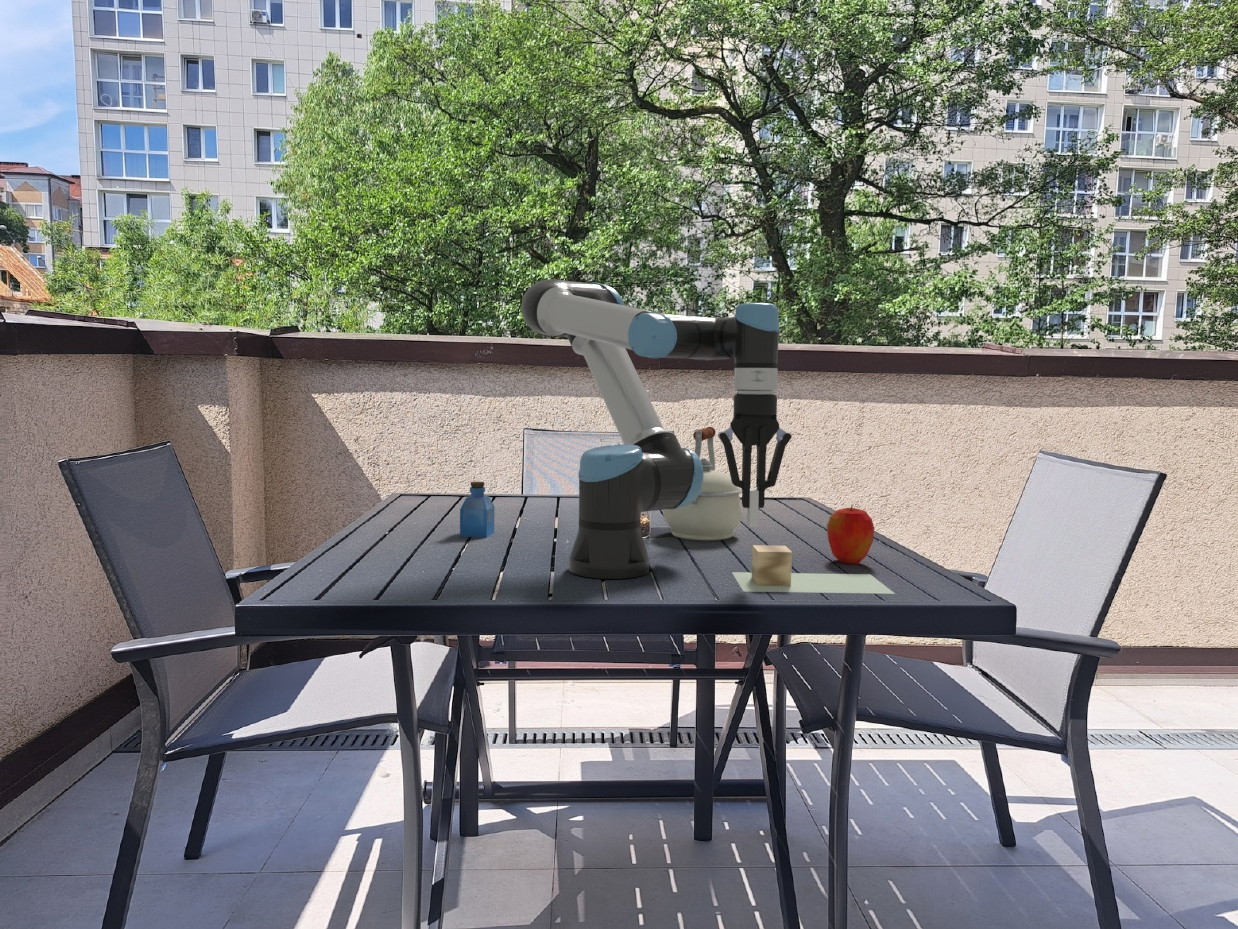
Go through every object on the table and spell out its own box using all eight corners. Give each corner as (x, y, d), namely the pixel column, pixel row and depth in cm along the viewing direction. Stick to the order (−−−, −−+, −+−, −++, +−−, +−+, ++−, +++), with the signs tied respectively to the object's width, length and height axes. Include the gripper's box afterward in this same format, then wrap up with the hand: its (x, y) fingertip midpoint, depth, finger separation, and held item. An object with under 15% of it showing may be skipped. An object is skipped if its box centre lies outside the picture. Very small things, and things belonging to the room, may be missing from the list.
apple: (822, 558, 187) (824, 500, 185) (867, 559, 186) (869, 501, 185) (829, 567, 177) (832, 506, 176) (876, 569, 177) (879, 508, 175)
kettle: (733, 546, 198) (737, 432, 195) (652, 540, 203) (654, 429, 200) (750, 528, 222) (753, 426, 219) (676, 523, 227) (679, 423, 224)
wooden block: (756, 585, 159) (757, 551, 159) (751, 577, 165) (752, 545, 165) (790, 586, 160) (792, 552, 159) (784, 578, 165) (785, 545, 165)
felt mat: (743, 593, 155) (743, 591, 155) (731, 574, 170) (731, 572, 170) (895, 596, 155) (895, 593, 155) (870, 576, 170) (870, 574, 170)
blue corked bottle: (468, 531, 210) (468, 480, 209) (494, 532, 209) (494, 481, 208) (460, 536, 204) (460, 483, 203) (486, 537, 203) (486, 484, 202)
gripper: (720, 392, 155) (718, 529, 157) (797, 393, 155) (793, 529, 157) (715, 392, 163) (713, 522, 165) (788, 392, 163) (785, 523, 165)
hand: (752, 526), depth 161 cm, fingers closed
